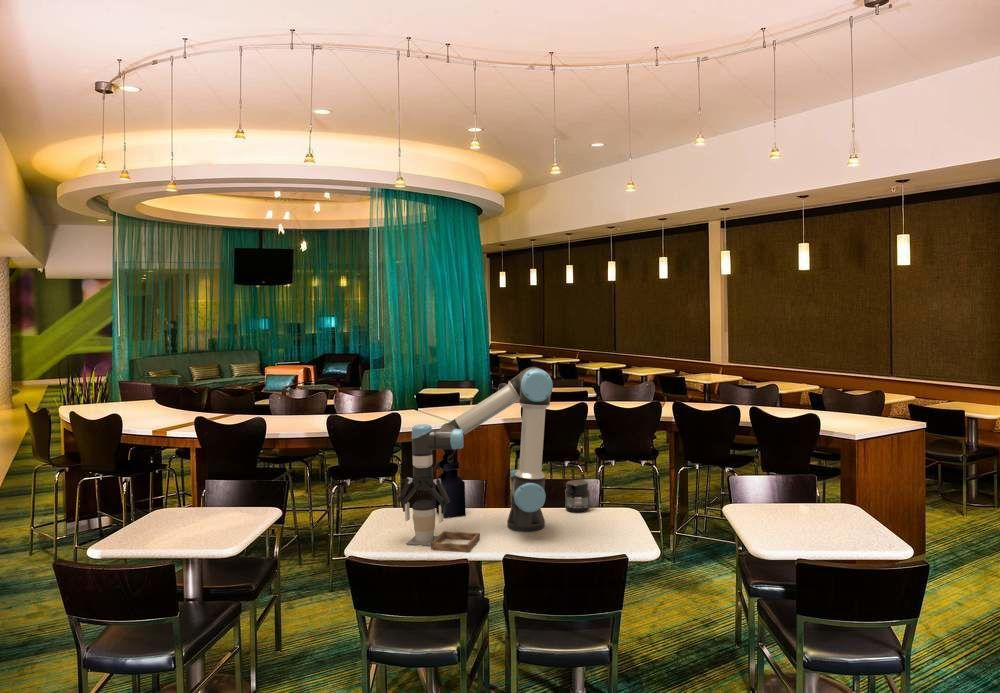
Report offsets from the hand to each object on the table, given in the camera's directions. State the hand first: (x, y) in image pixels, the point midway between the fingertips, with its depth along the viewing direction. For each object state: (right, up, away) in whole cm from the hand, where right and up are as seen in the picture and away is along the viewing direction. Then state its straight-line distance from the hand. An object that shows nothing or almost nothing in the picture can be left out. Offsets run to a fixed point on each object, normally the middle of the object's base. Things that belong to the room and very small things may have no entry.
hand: (424, 521), depth 276 cm
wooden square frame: (+12, -8, -5) cm, 15 cm away
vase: (+7, -6, +37) cm, 38 cm away
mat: (0, -8, 0) cm, 8 cm away
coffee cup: (0, -7, 0) cm, 7 cm away
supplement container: (+62, -5, +38) cm, 73 cm away
